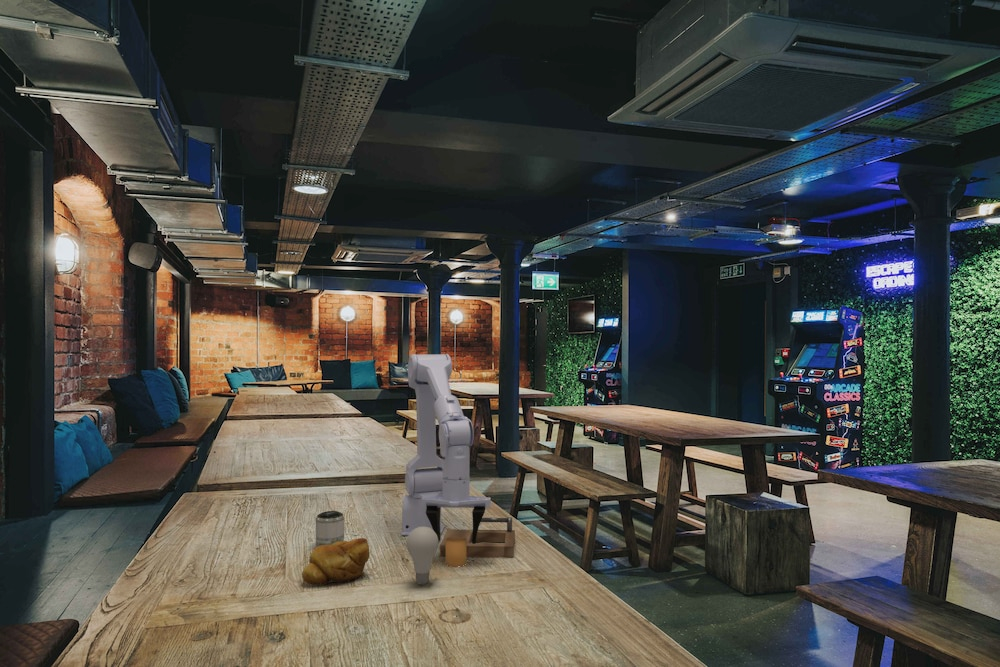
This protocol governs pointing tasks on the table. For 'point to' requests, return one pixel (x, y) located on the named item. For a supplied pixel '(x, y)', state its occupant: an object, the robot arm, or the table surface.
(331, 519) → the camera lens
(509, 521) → the hook
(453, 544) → the orange rounded capsule
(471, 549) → the brown square frame
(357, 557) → the bread roll
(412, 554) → the lightbulb
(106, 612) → the table surface
